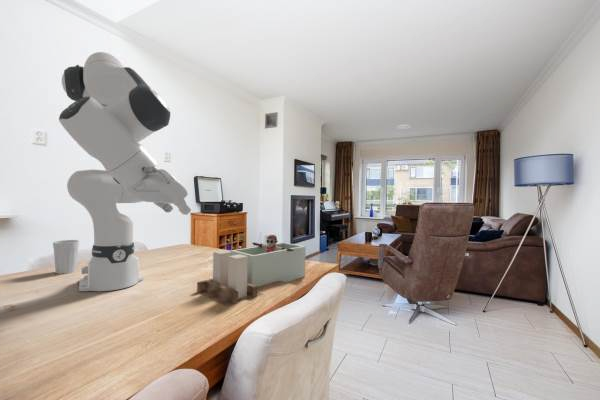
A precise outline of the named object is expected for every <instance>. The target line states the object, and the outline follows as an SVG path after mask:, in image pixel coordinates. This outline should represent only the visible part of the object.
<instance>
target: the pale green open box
mask: <svg viewBox="0 0 600 400" xmlns="http://www.w3.org/2000/svg"><path fill="white" fill-rule="evenodd" d="M275 246H276V247H281V248H282V247H284V248H285V250H278V251H274V252H268V253H266V252H267V249H266V248H261V247H260V246H251V247H244V248H238V249H231V250H230V252H231V256H233V255H238V254H240V255H244V256H248V263H247V283H250V284H253V285H256V286H257V288H258V287H261V286H264V285H268V284H271V283H272V284H273V283H275V282H278V281H279V282H284V283H288V282H292V281H295V280H299V279H301V278H304V277H306V247H307V246H305V245H299V244H294V243H288V242H277V243H276V244H275ZM287 249H293V250H294V251H287Z"/></svg>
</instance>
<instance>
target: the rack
mask: <svg viewBox="0 0 600 400" xmlns="http://www.w3.org/2000/svg"><path fill="white" fill-rule="evenodd" d="M196 284H197V285H196V288H197V289H196V291H197V293H199V294H200V295H202V296H205V297H207V298H209V299H211V300H213V301H215V302H217V303H220V304H222V305H224V306H226V307H228V306H231V305H234V304H237V303H240V302H244V301H246V300H250V299H253V298H256V297H259V296H262V295H263V293H261V292H259V291H258V287H257V286H256V285H253V284H250V283H247V296H246V297H242V298H239V299H238V291H235V290H233V289H230V288H228V287H225V286H223V285H220V284H218V283H216V282H213V278H209V279H205V280H200V281H197V283H196Z"/></svg>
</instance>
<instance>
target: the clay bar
mask: <svg viewBox="0 0 600 400" xmlns="http://www.w3.org/2000/svg"><path fill="white" fill-rule="evenodd" d="M247 263H248V256H244V255H240V254H238V255H233V256H229V258H228V288H230V289H233V290H235V291H238V299H239V298H242V297H246V296H247Z"/></svg>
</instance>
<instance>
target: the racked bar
mask: <svg viewBox="0 0 600 400" xmlns="http://www.w3.org/2000/svg"><path fill="white" fill-rule="evenodd" d="M212 255H213V257H212V261H213V262H212V264H213V265H212V279H213V282H216V283H218V284H220V285H223V286H225V287H228V258H229V256H231V251H228V250H217V251H213V253H212Z"/></svg>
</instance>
